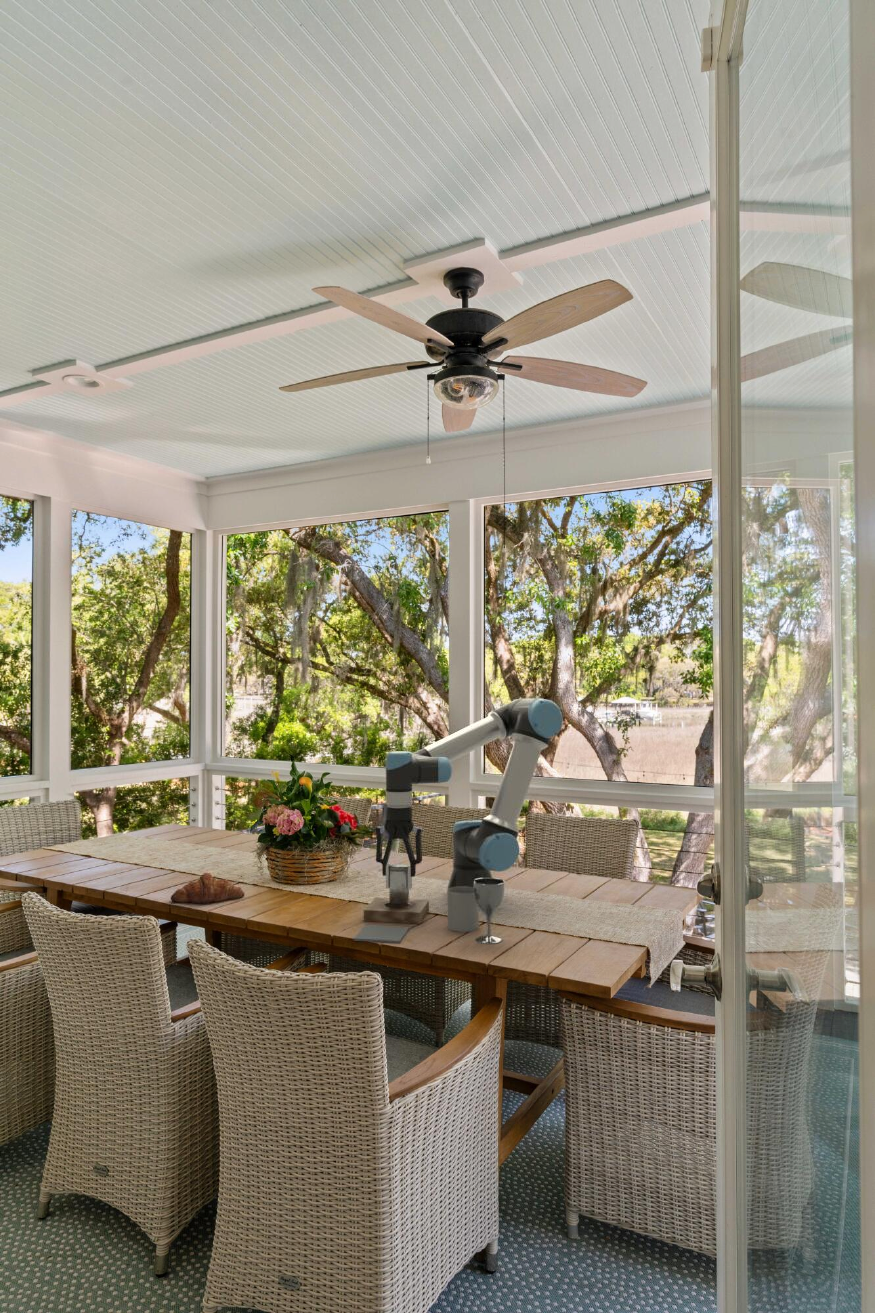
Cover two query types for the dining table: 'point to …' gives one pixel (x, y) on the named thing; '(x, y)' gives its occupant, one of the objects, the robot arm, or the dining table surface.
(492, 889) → the wine glass
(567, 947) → the dining table surface
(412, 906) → the block
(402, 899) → the plug
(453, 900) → the cup
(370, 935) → the mat
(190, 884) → the pastry
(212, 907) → the dining table surface
